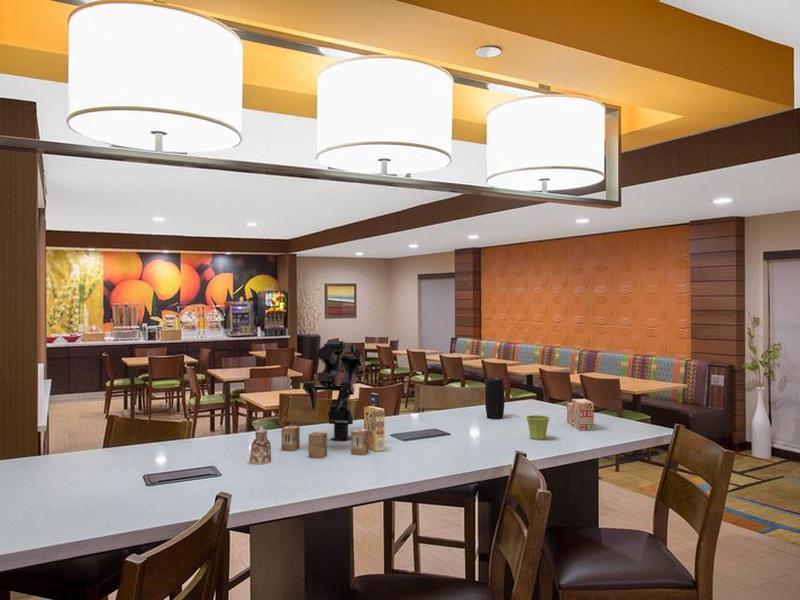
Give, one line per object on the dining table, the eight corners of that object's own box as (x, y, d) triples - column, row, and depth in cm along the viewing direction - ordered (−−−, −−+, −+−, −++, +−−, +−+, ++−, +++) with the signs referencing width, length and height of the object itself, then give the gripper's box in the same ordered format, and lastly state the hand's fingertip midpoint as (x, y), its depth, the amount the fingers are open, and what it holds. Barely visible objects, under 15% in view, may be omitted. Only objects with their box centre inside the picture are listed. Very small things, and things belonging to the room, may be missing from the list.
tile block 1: (287, 447, 224) (287, 425, 224) (299, 448, 223) (299, 425, 223) (281, 450, 219) (281, 427, 219) (293, 451, 218) (293, 428, 218)
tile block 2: (355, 451, 218) (355, 428, 218) (368, 452, 217) (368, 429, 217) (350, 454, 213) (350, 431, 213) (364, 455, 211) (364, 431, 212)
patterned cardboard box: (566, 422, 278) (566, 395, 279) (580, 422, 278) (579, 396, 278) (579, 431, 257) (579, 402, 257) (594, 431, 257) (593, 402, 257)
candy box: (385, 450, 219) (385, 408, 220) (375, 451, 217) (375, 409, 217) (373, 446, 227) (373, 405, 227) (363, 447, 224) (363, 406, 225)
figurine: (250, 464, 198) (250, 428, 198) (249, 460, 205) (249, 424, 205) (271, 463, 200) (272, 427, 200) (270, 458, 207) (270, 423, 207)
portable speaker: (487, 416, 295) (487, 376, 295) (506, 417, 292) (505, 377, 292) (483, 418, 287) (483, 378, 287) (503, 420, 284) (503, 378, 284)
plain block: (313, 454, 213) (314, 431, 213) (327, 455, 212) (327, 432, 212) (308, 457, 208) (308, 434, 208) (321, 458, 207) (322, 435, 207)
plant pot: (548, 441, 235) (548, 419, 235) (524, 440, 238) (524, 418, 238) (550, 437, 244) (550, 415, 244) (527, 435, 247) (527, 414, 247)
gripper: (301, 362, 223) (294, 401, 215) (349, 362, 219) (343, 402, 212) (310, 373, 233) (303, 412, 225) (356, 374, 229) (351, 413, 221)
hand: (325, 409), depth 220 cm, fingers open, 9 cm apart
